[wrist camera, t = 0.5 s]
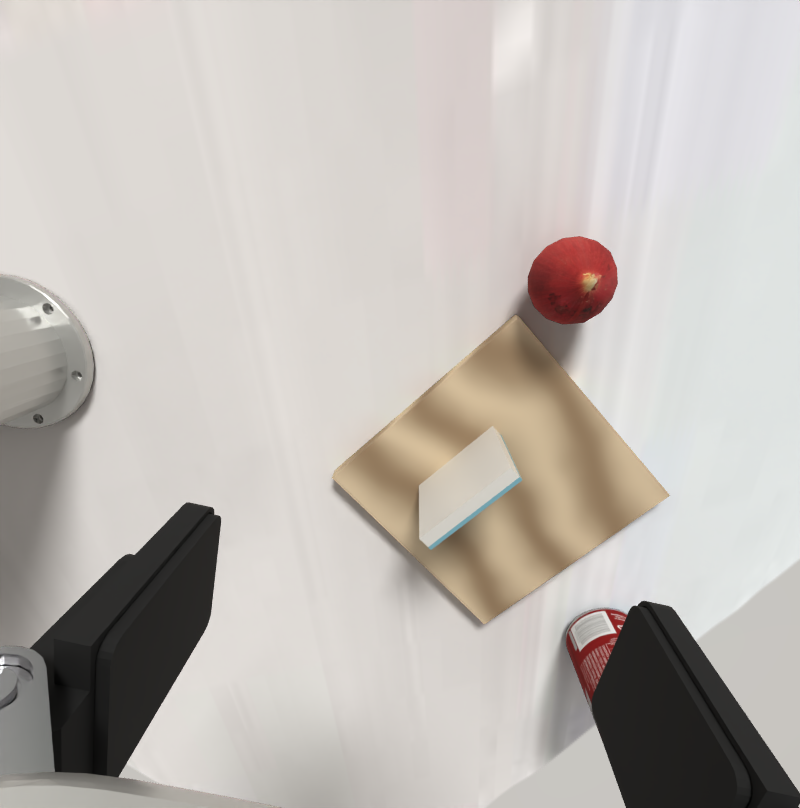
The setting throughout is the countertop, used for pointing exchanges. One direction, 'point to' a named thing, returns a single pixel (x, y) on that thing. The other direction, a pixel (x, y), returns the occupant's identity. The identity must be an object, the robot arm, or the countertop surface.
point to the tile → (465, 487)
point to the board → (534, 458)
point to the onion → (572, 280)
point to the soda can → (593, 645)
